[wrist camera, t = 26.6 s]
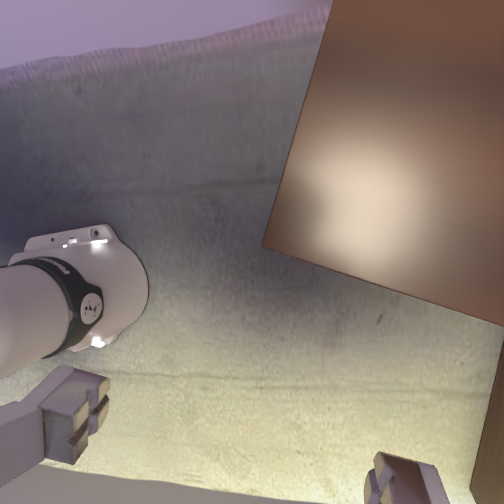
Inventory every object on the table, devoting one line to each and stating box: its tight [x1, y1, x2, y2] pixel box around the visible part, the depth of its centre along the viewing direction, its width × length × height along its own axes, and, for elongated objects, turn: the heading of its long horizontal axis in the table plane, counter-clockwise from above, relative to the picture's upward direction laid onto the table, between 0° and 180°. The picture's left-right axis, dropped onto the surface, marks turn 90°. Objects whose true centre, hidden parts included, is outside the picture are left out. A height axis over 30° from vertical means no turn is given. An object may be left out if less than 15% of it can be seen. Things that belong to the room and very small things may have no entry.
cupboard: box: [261, 0, 504, 327], centre depth 28 cm, size 18×26×28 cm
